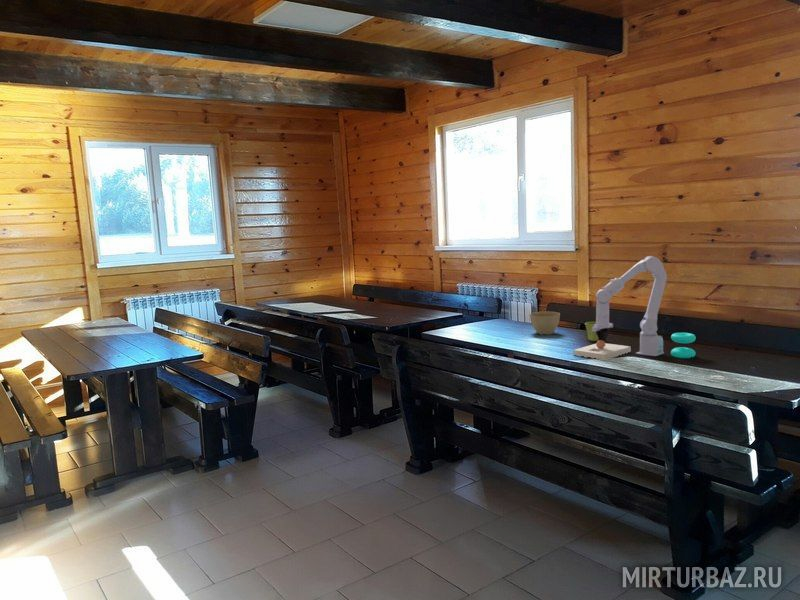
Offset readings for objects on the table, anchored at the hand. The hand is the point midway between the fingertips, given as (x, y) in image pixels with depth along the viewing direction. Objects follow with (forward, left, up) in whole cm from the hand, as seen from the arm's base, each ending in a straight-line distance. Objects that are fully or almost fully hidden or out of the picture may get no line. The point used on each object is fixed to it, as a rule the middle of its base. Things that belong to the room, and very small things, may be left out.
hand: (602, 344), depth 290 cm
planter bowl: (+51, -26, -4) cm, 57 cm away
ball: (0, +1, 0) cm, 2 cm away
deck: (0, +1, -4) cm, 4 cm away
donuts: (-30, -15, -4) cm, 34 cm away
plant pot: (+20, -25, -4) cm, 32 cm away
